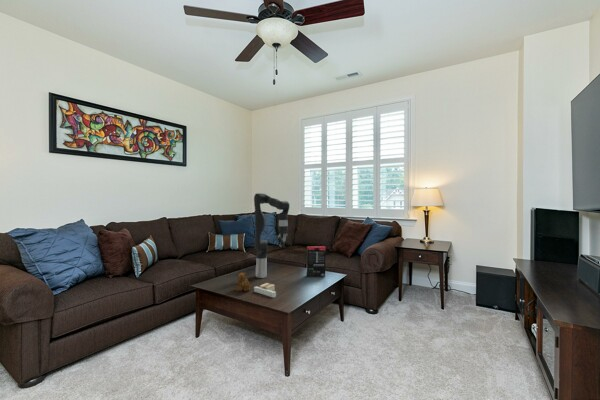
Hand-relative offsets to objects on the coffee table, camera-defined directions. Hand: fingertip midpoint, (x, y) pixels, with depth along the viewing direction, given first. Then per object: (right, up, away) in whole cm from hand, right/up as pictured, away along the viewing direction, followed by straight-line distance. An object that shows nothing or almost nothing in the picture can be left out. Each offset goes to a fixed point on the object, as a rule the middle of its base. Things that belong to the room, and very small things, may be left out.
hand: (283, 246), depth 230 cm
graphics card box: (+29, -32, +26) cm, 50 cm away
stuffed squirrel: (-30, -33, -11) cm, 46 cm away
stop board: (-12, -33, -20) cm, 40 cm away
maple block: (-11, -33, -15) cm, 38 cm away
